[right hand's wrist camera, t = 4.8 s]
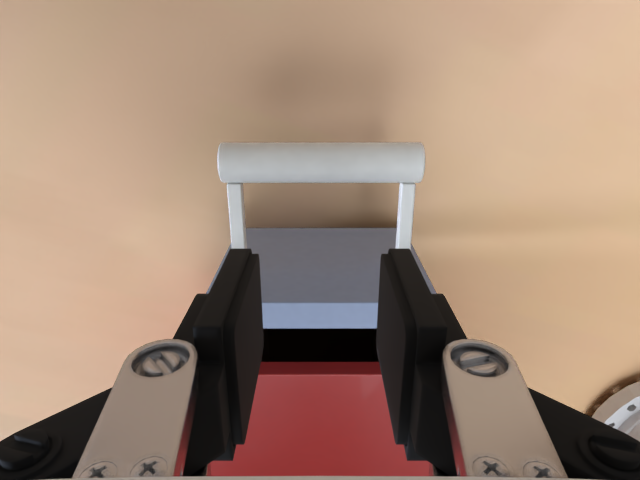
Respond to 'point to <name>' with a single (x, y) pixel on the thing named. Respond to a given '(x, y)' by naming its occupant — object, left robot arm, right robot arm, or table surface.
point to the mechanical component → (622, 411)
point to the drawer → (321, 245)
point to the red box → (319, 424)
